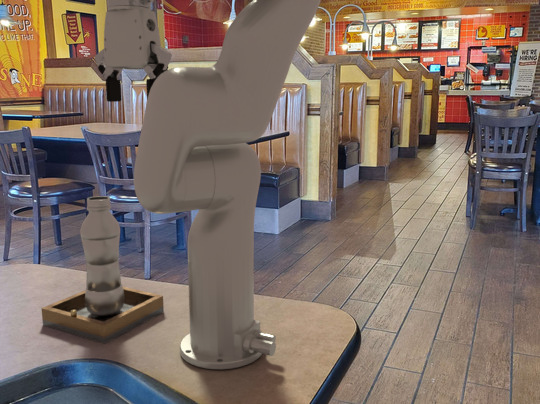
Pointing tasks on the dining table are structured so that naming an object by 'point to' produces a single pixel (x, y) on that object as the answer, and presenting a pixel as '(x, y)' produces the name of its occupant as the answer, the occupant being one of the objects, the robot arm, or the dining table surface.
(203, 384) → the dining table surface
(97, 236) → the plastic bottle
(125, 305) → the collar base
